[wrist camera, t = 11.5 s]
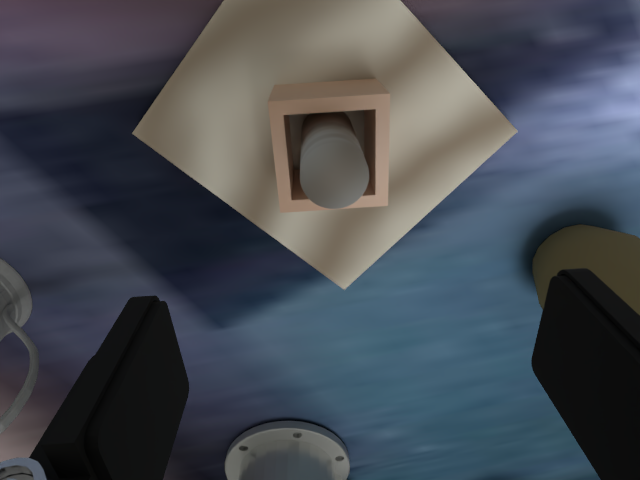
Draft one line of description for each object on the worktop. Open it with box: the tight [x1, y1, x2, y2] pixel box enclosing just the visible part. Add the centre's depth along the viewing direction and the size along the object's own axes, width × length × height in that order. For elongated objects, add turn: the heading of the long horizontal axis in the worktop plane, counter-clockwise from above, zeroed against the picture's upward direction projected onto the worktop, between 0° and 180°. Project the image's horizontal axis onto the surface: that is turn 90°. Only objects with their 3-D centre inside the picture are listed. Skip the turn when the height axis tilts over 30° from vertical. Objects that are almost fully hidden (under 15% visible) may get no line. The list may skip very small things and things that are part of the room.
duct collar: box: [268, 78, 390, 213], centre depth 25 cm, size 6×6×5 cm
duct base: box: [132, 0, 518, 290], centre depth 24 cm, size 18×16×10 cm
